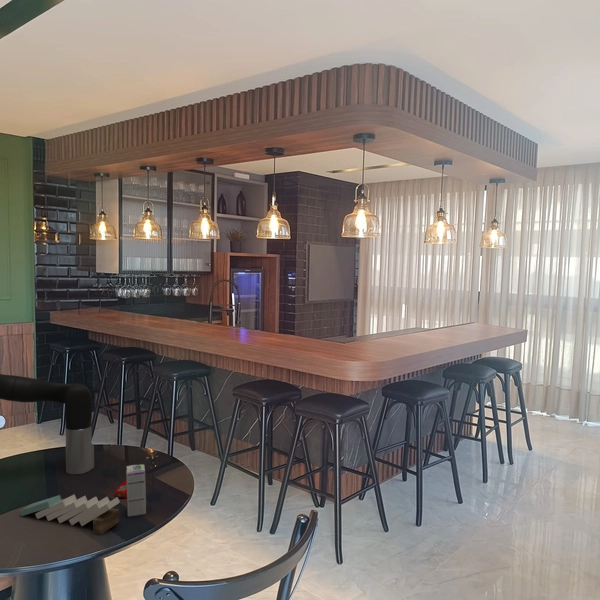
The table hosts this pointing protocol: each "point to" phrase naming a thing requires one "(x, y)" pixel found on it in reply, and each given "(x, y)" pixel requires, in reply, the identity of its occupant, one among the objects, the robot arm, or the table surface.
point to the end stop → (105, 521)
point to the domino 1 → (40, 505)
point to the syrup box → (136, 490)
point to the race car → (122, 490)
